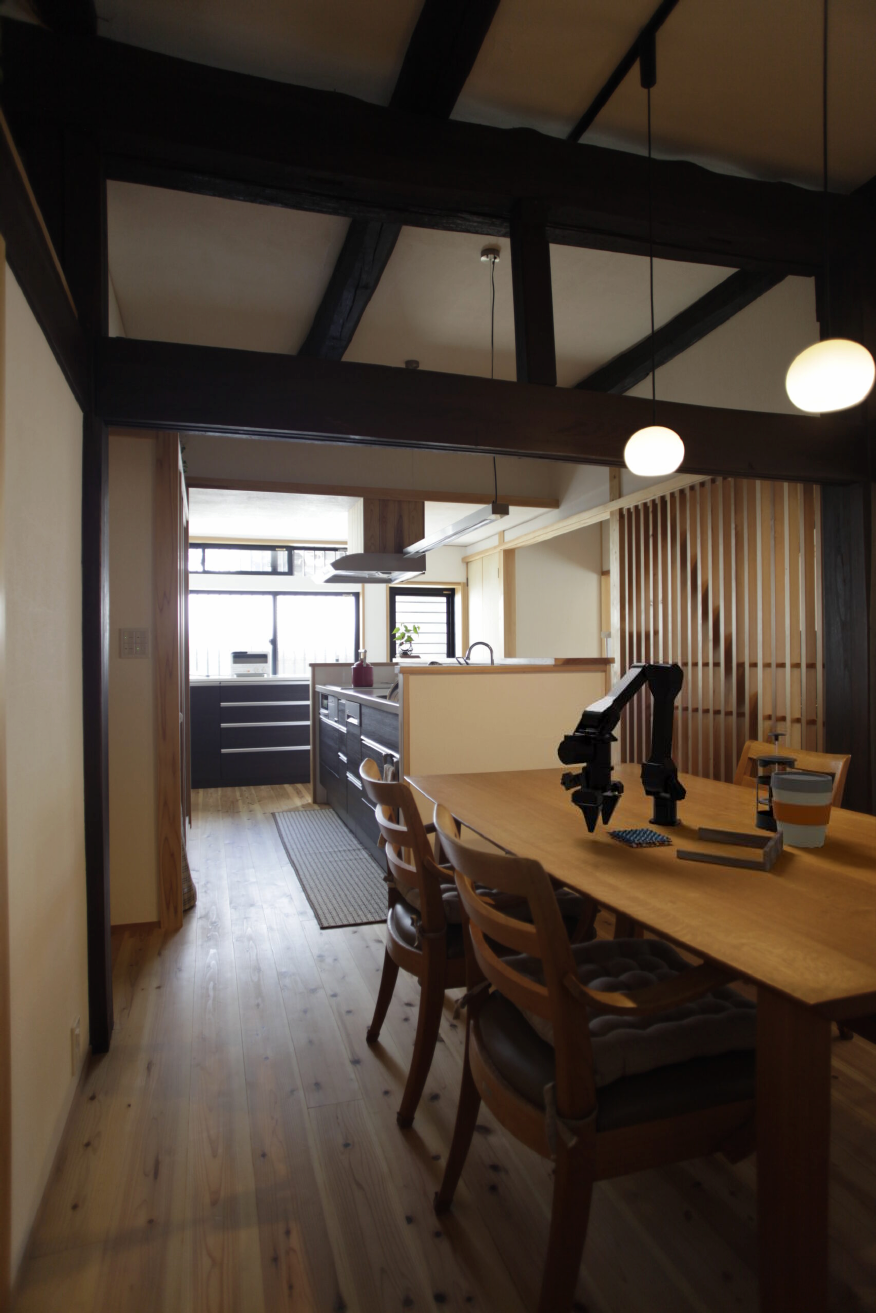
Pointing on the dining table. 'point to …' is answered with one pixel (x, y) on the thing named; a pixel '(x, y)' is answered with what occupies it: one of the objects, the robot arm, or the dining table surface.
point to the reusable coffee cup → (802, 806)
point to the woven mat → (640, 837)
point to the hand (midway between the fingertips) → (598, 828)
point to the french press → (767, 816)
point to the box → (769, 843)
